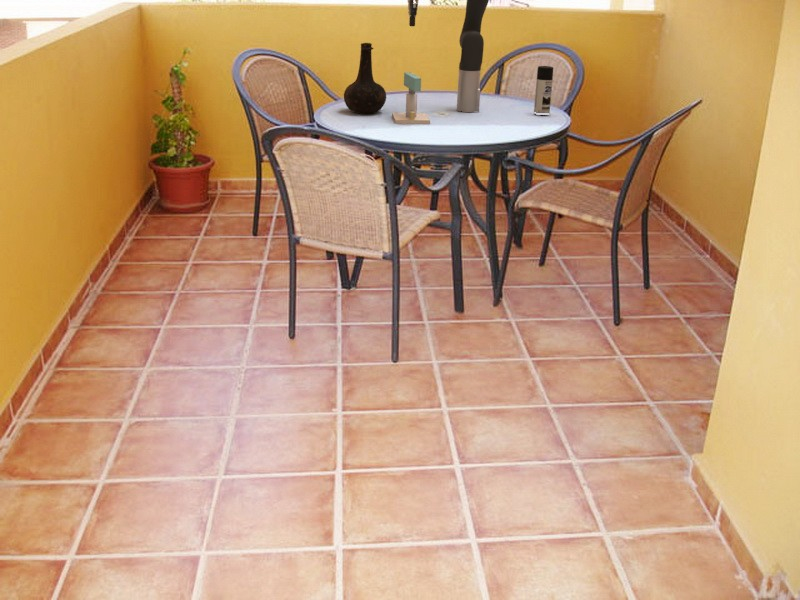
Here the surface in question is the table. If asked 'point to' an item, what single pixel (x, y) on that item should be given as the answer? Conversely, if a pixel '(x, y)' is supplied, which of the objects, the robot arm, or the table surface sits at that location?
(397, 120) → the post base
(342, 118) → the table surface
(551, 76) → the spray can
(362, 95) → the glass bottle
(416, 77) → the pale green block
